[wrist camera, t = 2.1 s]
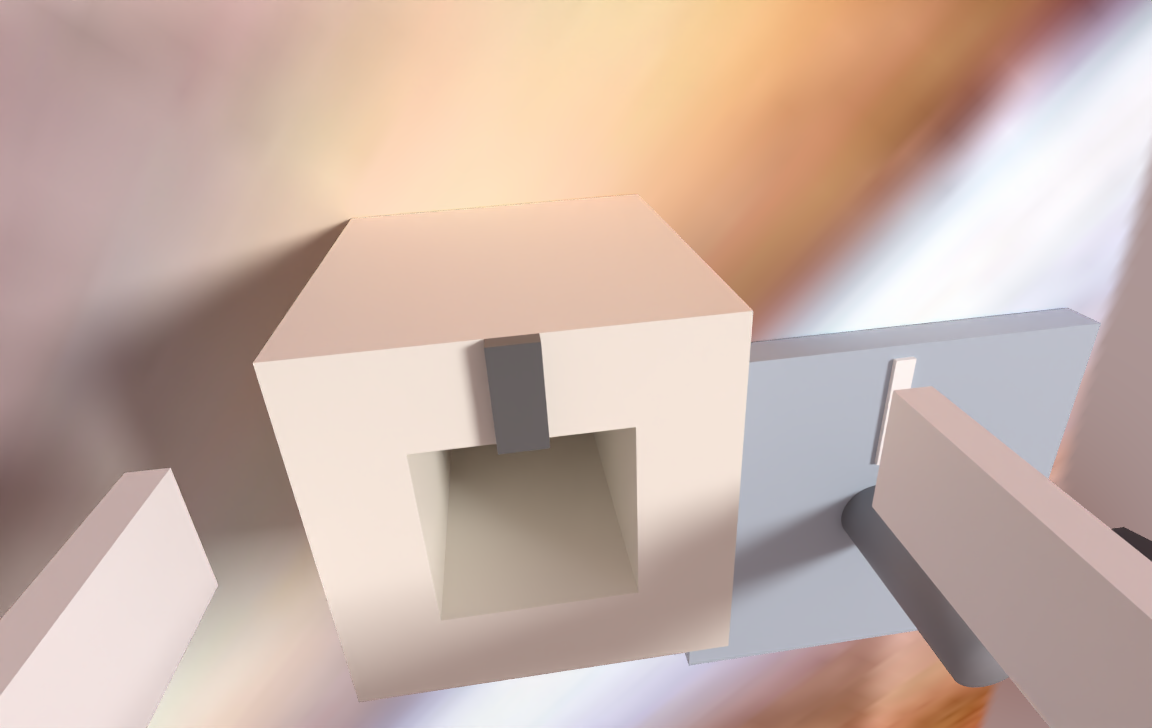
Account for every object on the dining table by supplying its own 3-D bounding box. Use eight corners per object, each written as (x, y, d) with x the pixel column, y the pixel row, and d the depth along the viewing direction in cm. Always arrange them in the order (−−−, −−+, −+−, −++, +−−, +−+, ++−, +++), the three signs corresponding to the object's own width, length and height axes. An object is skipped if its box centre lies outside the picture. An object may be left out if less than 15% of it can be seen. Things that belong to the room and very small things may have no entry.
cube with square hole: (402, 458, 20) (356, 717, 12) (351, 218, 16) (245, 372, 9) (640, 430, 20) (733, 658, 13) (637, 194, 17) (760, 318, 10)
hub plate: (679, 638, 25) (745, 834, 19) (686, 349, 19) (782, 495, 13) (979, 593, 26) (1133, 764, 20) (1067, 307, 20) (1317, 425, 14)
